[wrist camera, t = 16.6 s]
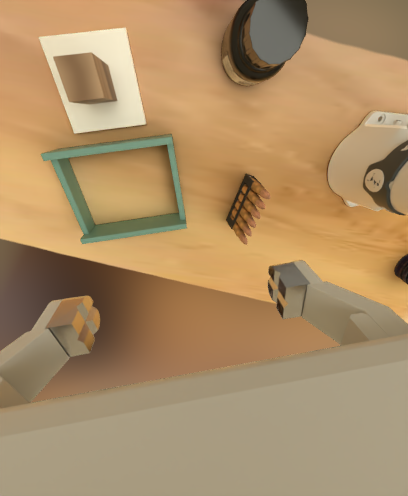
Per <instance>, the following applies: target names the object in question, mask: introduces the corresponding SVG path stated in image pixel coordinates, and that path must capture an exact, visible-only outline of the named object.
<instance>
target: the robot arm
mask: <svg viewBox="0 0 408 496" xmlns="http://www.w3.org/2000/svg"><path fill="white" fill-rule="evenodd" d="M378 118H379V120H378ZM328 182H329V185H330V187H331V189H332V190H333V191H334V192H335V193H336V194H337V195H339V196H341V197H342V198H343V200H344V202H345V204H346V205H347V206H349V207H355V206H358V205H360V206H363V207H366V208H368V209H371V210H374V211H379V210H382V209H385V210H387V211H389V212H391V213H396V214H399V215H407V216H408V114H400V113H391V112H382V111H372V112H370V113H369V114H368V115H367V116H366V117H365V119H364V120H363V121H362V123H361V124H360V126H359V127H358V128H357V129H355V130H354V131H353V132H352V133H350V134H349V135H348V136H347V137H346V138H345V139H344V140H343V141H342V142H341V143H340V144H339V146H338V147H337V148H336V150H335V152H334V153H333V155H332V158H331V160H330V163H329V167H328ZM268 273H269V275H270V279H269V280H268V290H269V294H270V296H271V298H272V300H273V301H275V302H276V303H277V309H278V311H279V313H280V315H281V317H282V318H283V319H286V318H292V317H299V316H302V318H304V319H305V320H306V321H308V322H309V323H311V324H312V325H314V326H315V327H316V328H318V329H319V330H321V331H322V332H324V333H325V334H327V335H328V336H329V337H331V338H332V339H333V340H335V341H336V342H338V343H339V344H340V346H338V347H332V348H327V349H322V350H316V351H310V352H305V353H300V354H294V355H288V356H283V357H277V358H272V359H267V360H261V361H256V362H251V363H245V364H239V365H235V366H229V367H223V368H218V369H212V370H207V371H201V372H197V373H191V374H185V375H180V376H175V377H169V378H163V379H158V380H152V381H147V382H141V383H136V384H130V385H125V386H119V387H114V388H108V389H103V390H98V391H92V392H87V393H82V394H76V395H70V396H65V397H59V398H54V399H49V400H43V401H38V402H32V403H31V401H32V400H33V399H34V398H35V397H36V396H37V395H38V394H39V392H40V391H41V390H42V389H43V388H44V387H45V386H46V384H47V383H48V382H49V381H50V380H51V379H52V378H53V376H54V375H55V374H56V373H57V372H58V371H59V370H60V368H61V367H62V366H63V365H64V364H65V363H66V362H67V360H68V359H69V357H72V356H77V355H82V354H87V353H90V352H91V349H92V346H93V343H94V340H95V338H94V336H93V334H95V333H96V331H97V330H98V329H99V325H100V316H99V312H98V310H97V309H96V308H94V307H92V304H93V301H92V299H91V297H90V296H82V297H75V298H68V299H61V300H55V301H52V302H50V303H49V304H48V306H47V307H46V309H45V310H44V312H43V314H42V315H41V317H40V318H39V320H38V321H37V323H36V324H35V326H34V327H33V329H32V330H31V331H30V332H26V333H25V334H23V335H22V336H21V337H19V338H18V339H17V340H16V341H14V342H13V343H11V344H10V345H8V346H7V347H6V348H4V349H3V350H2V351H0V496H408V324H407V323H406V322H405V321H404V320H403V319H402V318H400V317H399V316H398V315H397V314H396V313H395V312H394V311H393V310H391V309H390V308H389V307H387V306H385V305H382V304H380V303H378V302H375V301H373V300H370V299H368V298H365V297H363V296H361V295H358V294H356V293H353V292H351V291H349V290H346V289H344V288H341V287H339V286H336V285H334V284H332V283H329V282H327V281H326V282H323V281H322V280H321V279H320V278H319V277H318V276H317V275H316V273H315V272H314V271H313V270H312V269H311V268H310V267H309V266H308V265H307V264H306V262H305V261H303V260H299V261H294V262H290V263H284V264H278V265H272V266H270V267H269V272H268Z"/></svg>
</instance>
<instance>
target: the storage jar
mask: <svg viewBox="0 0 408 496" xmlns="http://www.w3.org/2000/svg"><path fill="white" fill-rule="evenodd" d="M394 272H395V275H396V276H398V277H399V278H401V279H402V280H403V281H404V282H405V283H407V284H408V254H407V255H405V256H404V257H403V258H402V259H401V260H400V261H399V262H398V263H397V265H396V267H395V270H394Z"/></svg>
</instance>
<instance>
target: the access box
mask: <svg viewBox="0 0 408 496" xmlns="http://www.w3.org/2000/svg"><path fill="white" fill-rule="evenodd" d="M160 145H167V147H168V153H169V159H170V164H171V170H172V175H173V181H174V186H175V192H176V198H177V203H178V209H179V213H174V214H167V215H160V216H154V217H147V218H140V219H133V220H127V221H120V222H113V223H106V224H99V225H95V223H94V221H93V219H92V216H91V214H90V211H89V209H88V206H87V204H86V201H85V199H84V196H83V194H82V191H81V189H80V186H79V184H78V182H77V179H76V177H75V174H74V172H73V169H72V167H71V164H70V162H69V159H68V158H70V157H78V156H85V155H93V154H100V153H108V152H115V151H123V150H130V149H138V148H145V147H152V146H160ZM41 156H42V158H43V160H44V161H48V160H51V162H52V164H53V167H54V169H55V171H56V173H57V176H58V178H59V180H60V182H61V185H62V187H63V189H64V191H65V193H66V196H67V198H68V200H69V202H70V205H71V207H72V209H73V211H74V214H75V216H76V218H77V220H78V223H79V225H80V227H81V229H82V232H83V234H84V235H83V236H82V238H81V239H80V240H81V242H82V244H86V243H93V242H99V241H106V240H113V239H119V238H126V237H132V236H139V235H146V234H152V233H159V232H166V231H172V230H179V229H185V228H187V226H186V218H185V211H184V205H183V199H182V193H181V187H180V181H179V175H178V169H177V163H176V157H175V151H174V145H173V138H172V134H167V135H160V136H152V137H145V138H137V139H129V140H122V141H114V142H107V143H99V144H91V145H84V146H76V147H69V148H61V149H56V150H53V151H49V152H46V153H43V154H41Z"/></svg>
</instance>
